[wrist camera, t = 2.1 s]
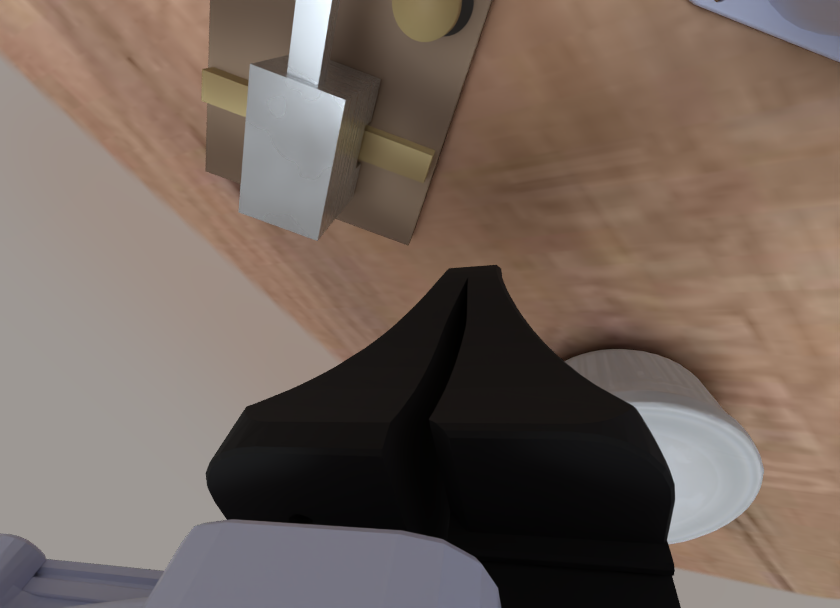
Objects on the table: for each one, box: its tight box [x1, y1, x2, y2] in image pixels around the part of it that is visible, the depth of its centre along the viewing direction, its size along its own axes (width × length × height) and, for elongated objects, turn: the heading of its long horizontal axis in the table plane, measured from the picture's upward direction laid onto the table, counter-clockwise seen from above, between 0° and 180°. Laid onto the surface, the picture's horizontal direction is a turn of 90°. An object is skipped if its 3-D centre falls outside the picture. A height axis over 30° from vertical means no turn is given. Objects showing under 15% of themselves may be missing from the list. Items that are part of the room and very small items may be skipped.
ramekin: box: [564, 349, 764, 544], centre depth 24 cm, size 11×11×5 cm
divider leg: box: [239, 0, 381, 241], centre depth 16 cm, size 8×3×4 cm, turn 163°
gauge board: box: [201, 0, 492, 245], centre depth 16 cm, size 13×10×6 cm
